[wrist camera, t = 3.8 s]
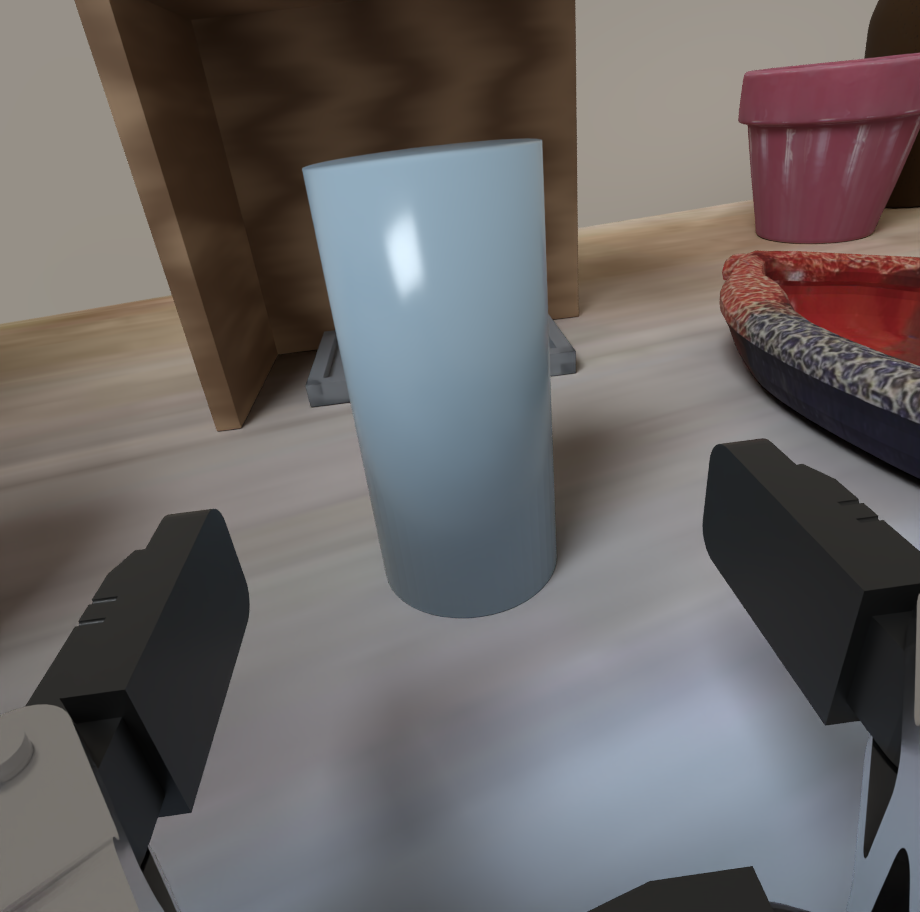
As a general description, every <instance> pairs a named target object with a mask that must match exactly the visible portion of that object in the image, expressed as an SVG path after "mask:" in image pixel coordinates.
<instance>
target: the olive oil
mask: <svg viewBox="0 0 920 912" xmlns="http://www.w3.org/2000/svg"><path fill="white" fill-rule="evenodd" d="M913 53H920V0H879V1H878V3H877V5H876V8H875V10H874V12H873V15H872V17H871V20H870V24H869V29H868V34H867V42H866V51H865V58H864V59H867V58H876V57H885V56H893V55H903V54H913ZM903 207H920V129H919V132H918V134H917V136H916V139H915V141H914V144H913V146H912V148H911V151H910V153H909V155H908V157H907V160H906V162H905V164H904V167H903V169H902V171H901V173H900V176H899V178H898V180H897V182H896V185H895V187H894V189H893V191H892V193H891V195H890V198H889V200H888V202H887V204H886V206H885V208H903Z"/></svg>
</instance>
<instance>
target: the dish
mask: <svg viewBox="0 0 920 912" xmlns="http://www.w3.org/2000/svg"><path fill="white" fill-rule="evenodd" d="M722 274H723V279H724V280H726V282H725V283H724V285H723V287H722V289H721V292H720V310H721V312H722V314H723V316H724V318H725V320H726V322H727V324H728V326H729V328H730V331H731V334H732V337H733V340H734V343H735V345H736V347H737V349H738V351H739V353H740V355H741V357H742V358H743V360H744V362H745V363H746V365H747V366H748V368H749V370H750V371H751V373H752V374H753V376H754V377H755V378H756V379H757V380H758V382H759V383H760V384H761V385H762V386H763V387H764V388H765V389H766V390H768V391H769V392H770V393H771V394H773V395H774V396H775V397H776V398H778V399H779V400H780V401H782V402H783V403H785V404H786V405H788V406H789V407H791V408H792V409H794V410H795V411H797V412H798V413H800V414H801V415H803V416H805V417H806V418H808V419H809V420H811V421H813V422H815V423H816V424H818V425H820V426H821V427H823V428H825V429H827V430H828V431H830V432H832V433H833V434H835V435H837V436H839V437H840V438H842V439H844V440H846V441H848V442H850V443H851V444H853V445H855V446H857V447H859V448H861V449H862V450H864V451H866V452H868V453H870V454H872V455H874V456H876V457H877V458H879V459H881V460H883V461H885V462H887V463H889V464H890V465H892V466H894V467H896V468H898V469H900V470H902V471H904V472H906V473H908V474H910V475H913V476H915V477H917V478H919V479H920V258H919V257H901V256H880V255H861V254H841V253H821V252H801V251H754V252H751V253H748V254H734V255H732V256H731V257H729V258H728V259H727V260H726V262H725V264H724V267H723V271H722Z"/></svg>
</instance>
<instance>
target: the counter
mask: <svg viewBox="0 0 920 912" xmlns="http://www.w3.org/2000/svg"><path fill="white" fill-rule="evenodd" d="M75 3H76V7H77V10H78V13H79V16H80V18H81V22H82V25H83V28H84V31H85V34H86V37H87V40H88V43H89V46H90V49H91V52H92V55H93V58H94V61H95V64H96V67H97V70H98V73H99V76H100V79H101V82H102V85H103V88H104V91H105V94H106V97H107V100H108V103H109V106H110V109H111V112H112V115H113V118H114V121H115V124H116V127H117V130H118V133H119V137H120V139H121V142H122V146H123V148H124V152H125V154H126V157H127V161H128V164H129V166H130V169H131V173H132V176H133V179H134V182H135V185H136V188H137V191H138V194H139V196H140V200H141V203H142V206H143V209H144V212H145V215H146V218H147V221H148V224H149V227H150V230H151V233H152V236H153V239H154V242H155V245H156V248H157V251H158V254H159V257H160V260H161V263H162V266H163V269H164V272H165V275H166V278H167V281H168V284H169V287H170V291H171V294H172V297H173V300H174V303H175V306H176V309H177V312H178V315H179V318H180V321H181V324H182V327H183V330H184V333H185V336H186V339H187V342H188V345H189V348H190V351H191V354H192V357H193V360H194V363H195V366H196V369H197V372H198V375H199V378H200V381H201V384H202V387H203V390H204V393H205V396H206V399H207V402H208V405H209V408H210V411H211V414H212V417H213V420H214V423H215V426H216V429H217V431H222V430H230V429H238V428H241V427H242V425H243V423H244V421H245V419H246V417H247V415H248V413H249V411H250V409H251V407H252V405H253V403H254V401H255V399H256V397H257V395H258V393H259V391H260V389H261V387H262V385H263V383H264V381H265V379H266V377H267V375H268V373H269V371H270V369H271V367H272V365H273V363H274V361H275V359H276V357H277V355H278V354H285V353H293V352H301V351H309V350H317V349H318V348H319V345H320V342H321V339H322V337H323V334H324V332H325V331H333V330H335V326H334V321H333V316H332V311H331V307H330V302H329V297H328V292H327V287H326V282H325V278H324V273H323V268H322V263H321V258H320V254H319V249H318V244H317V239H316V234H315V229H314V225H313V220H312V215H311V210H310V205H309V200H308V196H307V191H306V186H305V181H304V176H303V172H302V168H303V167H306V166H309V165H312V164H316V163H321V162H325V161H330V160H336V159H341V158H347V157H353V156H359V155H366V154H372V153H379V152H386V151H394V150H401V149H409V148H417V147H426V146H435V145H444V144H453V143H464V142H475V141H487V140H501V139H524V138H531V139H541V140H542V149H543V178H544V208H545V237H546V266H547V295H548V314H549V315H550V317H551V318H552V319H560V318H568V317H575V316H579V309H578V222H577V221H578V219H577V218H578V217H577V215H578V214H577V124H576V123H577V120H576V31H575V29H576V26H575V0H75Z"/></svg>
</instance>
